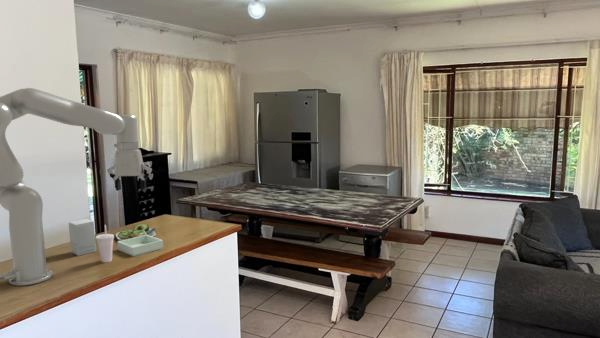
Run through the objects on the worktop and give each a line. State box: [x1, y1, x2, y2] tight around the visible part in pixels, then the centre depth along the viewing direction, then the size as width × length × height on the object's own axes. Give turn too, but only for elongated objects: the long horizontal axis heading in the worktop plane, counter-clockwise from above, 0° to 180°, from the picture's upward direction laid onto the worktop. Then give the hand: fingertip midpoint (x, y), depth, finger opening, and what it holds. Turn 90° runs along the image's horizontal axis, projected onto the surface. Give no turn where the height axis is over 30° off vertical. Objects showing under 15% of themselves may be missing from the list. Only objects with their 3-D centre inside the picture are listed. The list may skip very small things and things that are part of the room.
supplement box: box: [68, 218, 97, 257], centre depth 178 cm, size 7×7×13 cm
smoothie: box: [95, 224, 115, 263], centre depth 167 cm, size 6×6×14 cm
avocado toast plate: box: [115, 223, 157, 241], centre depth 198 cm, size 19×18×5 cm
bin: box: [116, 235, 164, 257], centre depth 181 cm, size 13×13×4 cm
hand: (130, 190), depth 174 cm, fingers open, 9 cm apart
